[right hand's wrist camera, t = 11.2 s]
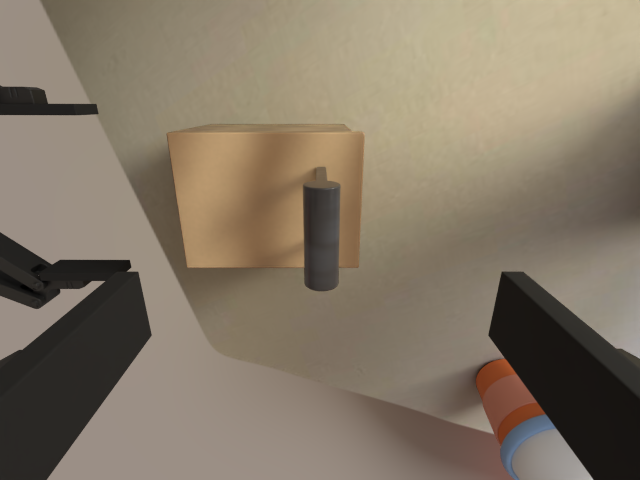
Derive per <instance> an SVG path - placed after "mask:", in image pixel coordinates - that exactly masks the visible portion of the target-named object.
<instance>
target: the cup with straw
mask: <svg viewBox="0 0 640 480" xmlns="http://www.w3.org/2000/svg"><path fill="white" fill-rule="evenodd" d="M476 386H477V389H478V391H479V394H480V396H481V398H482V401H483V407H484V410H485V412H486V415H487V417H488V419H489V422H490V424H491V427H492V429H493V431H494V434H495V436H496V439H497V441H498V443H499V444H500V446H501V449H500V456H501V461H502V463H503V466H504V468H505V469H506V471H507V472H508V473H509V475H510V476H511V477H512V478H513V479H515V480H593V478H592V477H591V476H590V474H589V473H588V472H587V470H586V469H585V467H584V466H583V465H582V463H581V462H580V461H579V459H578V458H577V456H576V455H575V454H574V452H573V451H572V450H571V448H570V447H569V445H568V444H567V443H566V441H565V440H564V439H563V437H562V436H561V434H560V433H559V432H558V430H557V429H556V428H555V426H554V425H553V423H552V422H551V421H550V419H549V418H548V417H547V415H546V414H545V412H544V411H543V410H542V408H541V407H540V406H539V404H538V403H537V401H536V400H535V399H534V397H533V396H532V395H531V393H530V392H529V390H528V389H527V388H526V386H525V385H524V384H523V382H522V381H521V379H520V378H519V377H518V375H517V374H516V373H515V371H514V370H513V368H512V367H511V366H510V364H509V363H508V362H507V360H506V359H499V360H495V361H492V362H490V363H488V364H487V365H485V366H484V367H483V368H482V369H481V370H480V371H479V373H478V375H477V378H476Z"/></svg>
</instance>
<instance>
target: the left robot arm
mask: <svg viewBox="0 0 640 480" xmlns="http://www.w3.org/2000/svg"><path fill="white" fill-rule="evenodd" d="M90 114H98V110H97V105H96V104H48V102H47V98H46V94H45V91H44V90H42V89H39V88H34V87H2V86H0V115H90ZM130 268H131V264H130V260H59V261H58V262H56V263H54V264H53V265H52V264H50V263H48V262H47V261H45V260H44V259H42V258H40V257H39V256H37V255H36V254H34V253H32V252H31V251H29V250H28V249H26V248H24V247H23V246H21V245H20V244H18V243H16V242H15V241H13V240H11V239H10V238H8V237H7V236H5V235H3V234H2V233H0V296H2V297H5V298H8V299H10V300H13V301H16V302H18V303H21V304H24V305H26V306H29V307H32V308H35V309H39V308H41V307H42V306H43V305H45V304H46V303H48V302H49V301H50V300H52V299H53V298H54V297H56V296H57V295H58V294H59V293H60V289H80V288H83V287H85V286H86V285H87V284H89V283H90V282H91V281H106V280H108V279H109V278H110V277H111V276H112V275H114V274H115V273H116V272H127V271H128V270H129V269H130ZM38 275H39V276H38Z"/></svg>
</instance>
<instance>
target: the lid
mask: <svg viewBox="0 0 640 480" xmlns="http://www.w3.org/2000/svg"><path fill="white" fill-rule="evenodd" d="M364 135H365V134H364V132H362V131H299V132H168V133H167V139H168V146H169V152H170V159H171V165H172V172H173V178H174V185H175V191H176V198H177V204H178V211H179V217H180V224H181V230H182V237H183V243H184V250H185V256H186V263H187V268H304V282H305V285H306V287H308V288H309V289H311V290H315V291H328V290H332V289H334V288H336V287H337V285H338V281H339V268H358V267H359V248H360V225H361V203H362V180H363V158H364Z"/></svg>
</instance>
